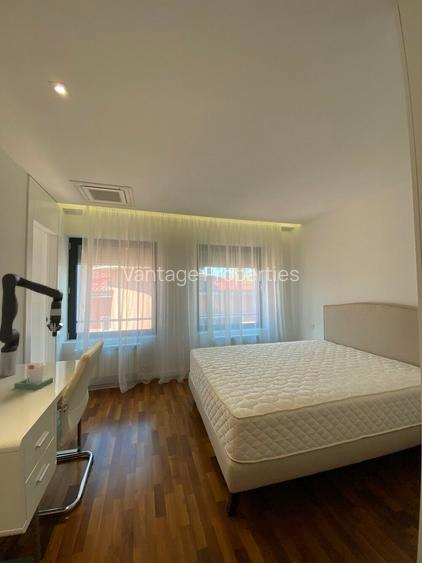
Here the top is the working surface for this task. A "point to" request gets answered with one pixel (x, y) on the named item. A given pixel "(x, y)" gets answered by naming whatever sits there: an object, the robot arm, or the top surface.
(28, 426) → the top surface
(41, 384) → the green pocket
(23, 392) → the top surface
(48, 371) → the top surface
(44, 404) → the top surface
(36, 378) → the foam cup
